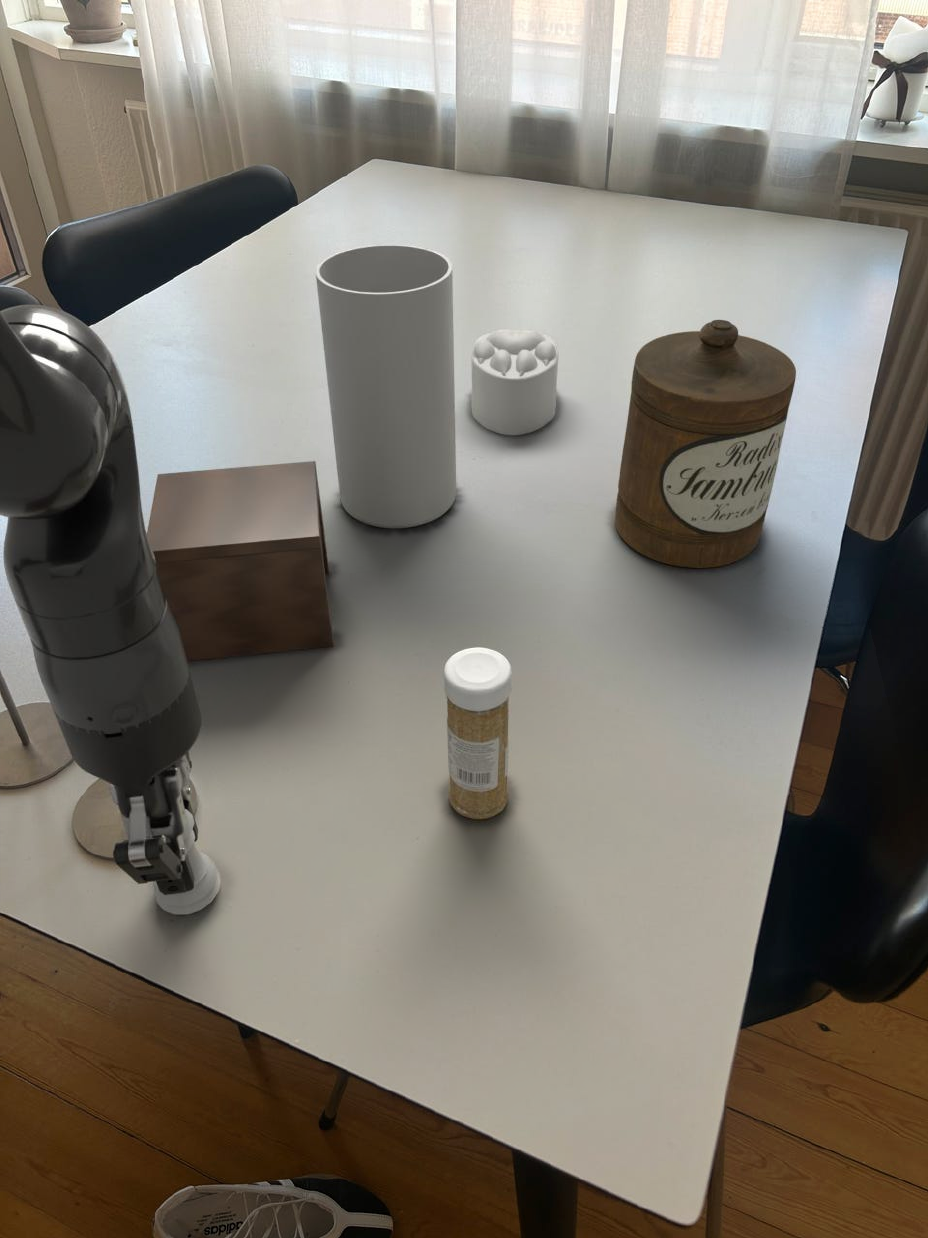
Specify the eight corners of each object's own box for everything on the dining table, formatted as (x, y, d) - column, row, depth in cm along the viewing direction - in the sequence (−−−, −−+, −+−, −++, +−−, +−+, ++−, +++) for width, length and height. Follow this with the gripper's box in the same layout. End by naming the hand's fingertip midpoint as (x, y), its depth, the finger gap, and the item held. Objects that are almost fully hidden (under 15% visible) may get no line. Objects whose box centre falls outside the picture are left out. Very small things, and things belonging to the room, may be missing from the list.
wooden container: (678, 587, 92) (715, 373, 78) (586, 513, 102) (603, 311, 88) (791, 540, 98) (844, 333, 84) (693, 474, 108) (726, 278, 93)
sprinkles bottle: (518, 788, 73) (523, 657, 65) (490, 831, 70) (492, 700, 62) (465, 766, 75) (464, 636, 66) (436, 807, 72) (430, 676, 63)
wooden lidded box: (173, 663, 85) (143, 552, 77) (183, 580, 94) (157, 473, 86) (333, 646, 86) (319, 536, 78) (328, 566, 95) (315, 460, 87)
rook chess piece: (222, 912, 65) (200, 839, 60) (154, 924, 65) (127, 851, 60) (221, 859, 69) (201, 785, 64) (157, 869, 68) (131, 796, 63)
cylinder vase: (478, 489, 106) (478, 259, 90) (412, 545, 98) (398, 304, 82) (386, 457, 111) (371, 236, 95) (316, 508, 103) (287, 276, 87)
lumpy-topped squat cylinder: (555, 386, 124) (559, 321, 119) (555, 436, 114) (559, 368, 109) (475, 384, 125) (474, 319, 119) (467, 433, 115) (467, 366, 110)
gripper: (70, 605, 59) (135, 789, 70) (23, 782, 48) (109, 967, 59) (196, 592, 59) (240, 777, 71) (177, 764, 49) (233, 950, 60)
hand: (180, 863), depth 65 cm, fingers closed on rook chess piece, 3 cm apart
